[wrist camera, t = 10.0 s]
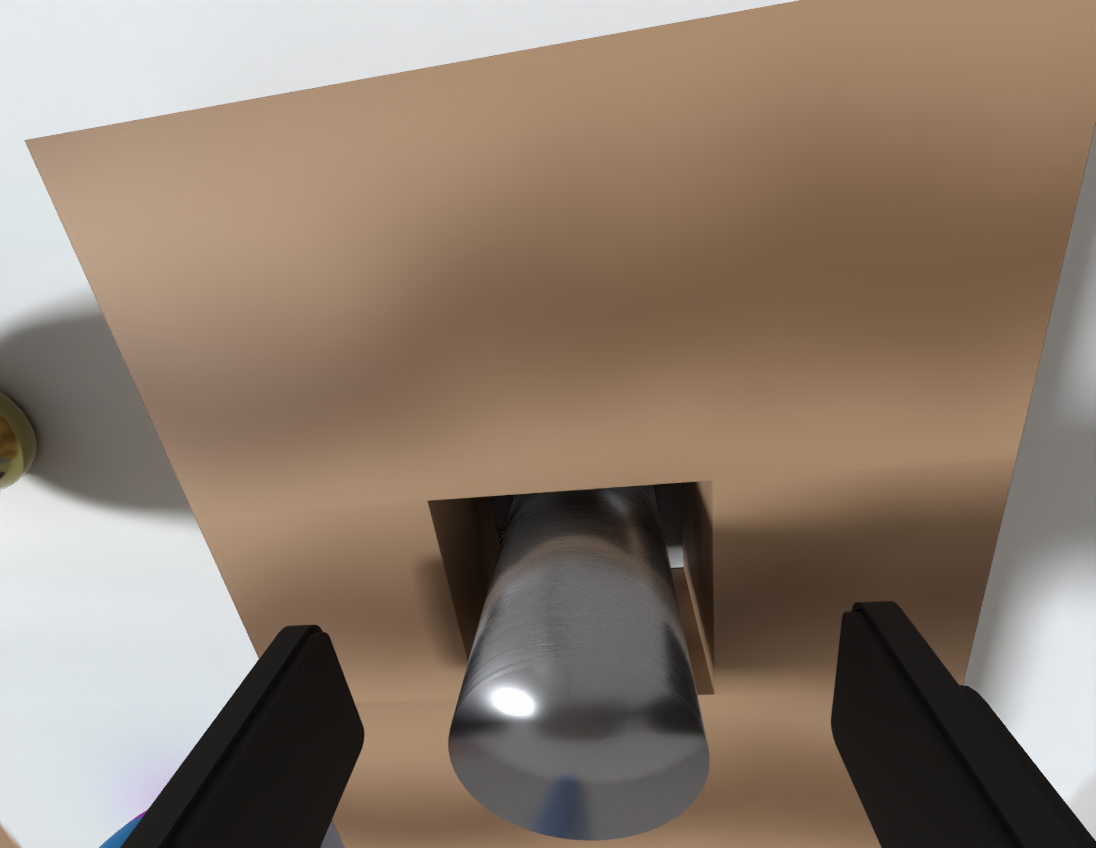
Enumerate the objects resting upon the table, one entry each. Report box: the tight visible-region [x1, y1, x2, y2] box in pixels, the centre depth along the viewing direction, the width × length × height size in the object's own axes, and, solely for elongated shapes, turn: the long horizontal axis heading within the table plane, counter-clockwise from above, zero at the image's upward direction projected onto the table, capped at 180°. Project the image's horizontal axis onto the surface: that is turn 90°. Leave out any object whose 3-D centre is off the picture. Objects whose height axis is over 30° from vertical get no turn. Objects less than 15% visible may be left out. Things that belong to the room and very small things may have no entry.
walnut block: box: [25, 0, 1096, 848], centre depth 13 cm, size 20×16×4 cm
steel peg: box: [448, 485, 710, 841], centre depth 12 cm, size 4×4×8 cm
